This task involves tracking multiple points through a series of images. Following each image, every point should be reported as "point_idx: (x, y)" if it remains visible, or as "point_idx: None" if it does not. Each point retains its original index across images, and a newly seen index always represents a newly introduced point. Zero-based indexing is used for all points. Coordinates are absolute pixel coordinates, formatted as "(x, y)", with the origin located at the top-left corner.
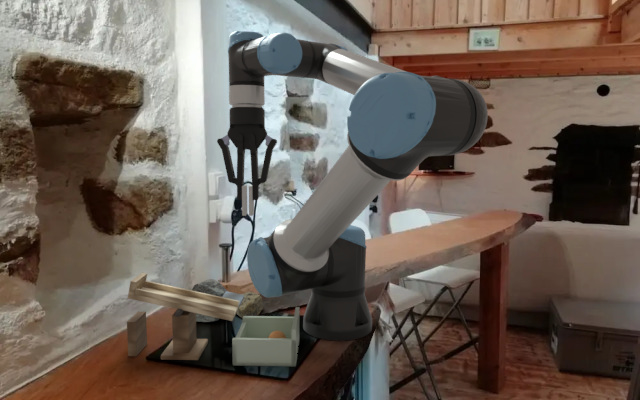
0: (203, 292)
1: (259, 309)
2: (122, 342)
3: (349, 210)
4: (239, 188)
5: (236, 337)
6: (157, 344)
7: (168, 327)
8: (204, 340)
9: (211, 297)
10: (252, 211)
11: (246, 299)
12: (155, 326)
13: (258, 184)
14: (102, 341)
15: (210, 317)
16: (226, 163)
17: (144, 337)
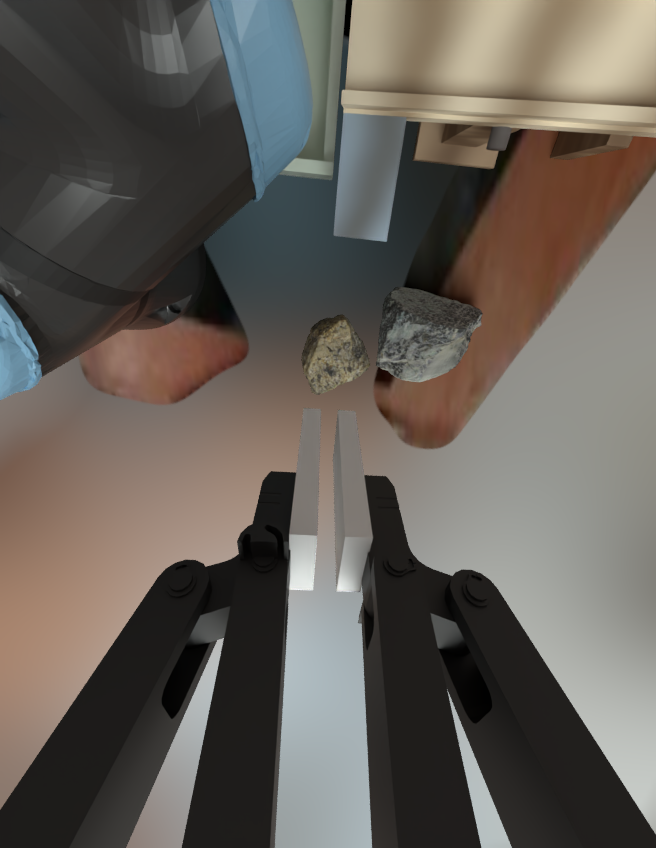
0: (438, 317)
1: (308, 343)
2: (602, 175)
3: None
4: (388, 535)
5: (342, 7)
6: (526, 156)
7: (495, 269)
8: (422, 147)
9: (435, 97)
10: (302, 423)
11: (335, 352)
12: (521, 277)
13: (238, 558)
14: (644, 185)
15: (409, 290)
16: (631, 834)
17: (571, 133)
